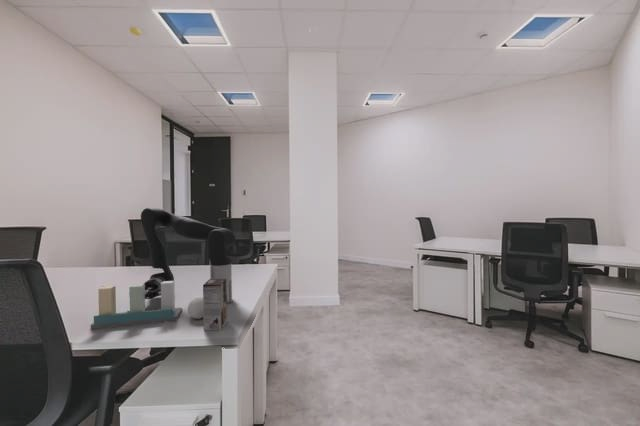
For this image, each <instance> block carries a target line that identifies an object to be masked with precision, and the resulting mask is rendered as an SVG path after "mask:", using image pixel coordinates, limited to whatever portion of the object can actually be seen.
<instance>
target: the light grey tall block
mask: <svg viewBox="0 0 640 426" xmlns="http://www.w3.org/2000/svg"><path fill="white" fill-rule="evenodd" d="M175 296H176V294H175V280H174V281H163V282H162V283H161V295H160V304H161V305H160V306H161V307H160V309H161V310H168V309H173V312H174V311H175V308H176V301H175V300H176V299H175V298H176V297H175Z"/></svg>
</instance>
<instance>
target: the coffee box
mask: <svg viewBox="0 0 640 426" xmlns="http://www.w3.org/2000/svg"><path fill="white" fill-rule="evenodd" d="M202 288H203V289H202V291H203V293H202V296H203V297H202V298H203V305H204V317H203V331H205V332H207V331H221V330H223V328H224V327H225V326H226V323H227V322H228V303H227V286H226V279H210V278H209V279H208V280H207V281H206V282H205V283H204V284H203V285H202Z"/></svg>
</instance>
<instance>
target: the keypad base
mask: <svg viewBox="0 0 640 426" xmlns="http://www.w3.org/2000/svg"><path fill="white" fill-rule="evenodd" d="M182 312H183V307H175V311H174V312H173V309H168V310H161V308H154V309H147V310H146V309H145V312H133V313H130V310H126V311H125V312H116V314H109V315H99V314H98V315H93V323H91V324H90V330H94V329H107V328H116V327H118V328H119V327H127V326H137V325H151V324H159V323H161V324H162V323H169V322H171V323H172V322H177V320H178V319H179V317H180V315H181V314H182Z"/></svg>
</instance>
